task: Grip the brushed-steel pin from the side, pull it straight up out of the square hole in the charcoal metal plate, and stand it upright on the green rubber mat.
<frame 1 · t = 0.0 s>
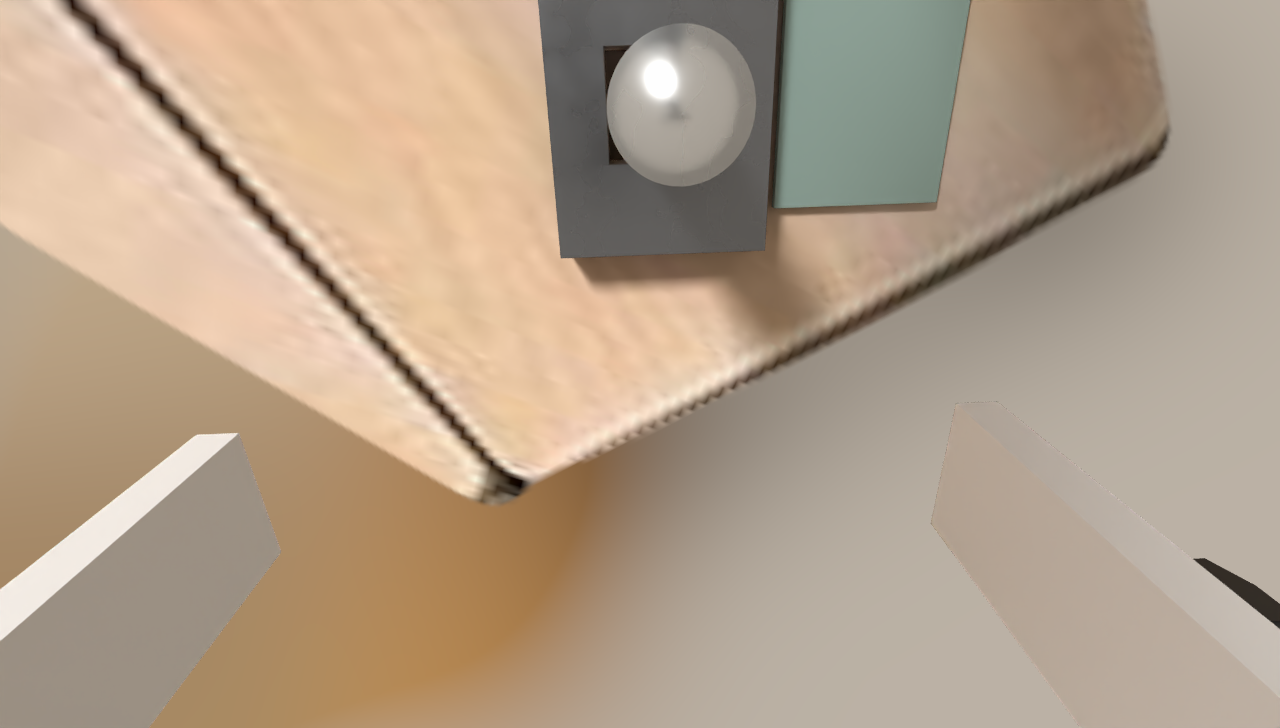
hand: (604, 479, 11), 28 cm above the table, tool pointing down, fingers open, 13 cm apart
rubber mat: (863, 98, 34), on the table
steel pin: (657, 105, 34), resting in socket plate
socket plate: (657, 105, 34), on the table
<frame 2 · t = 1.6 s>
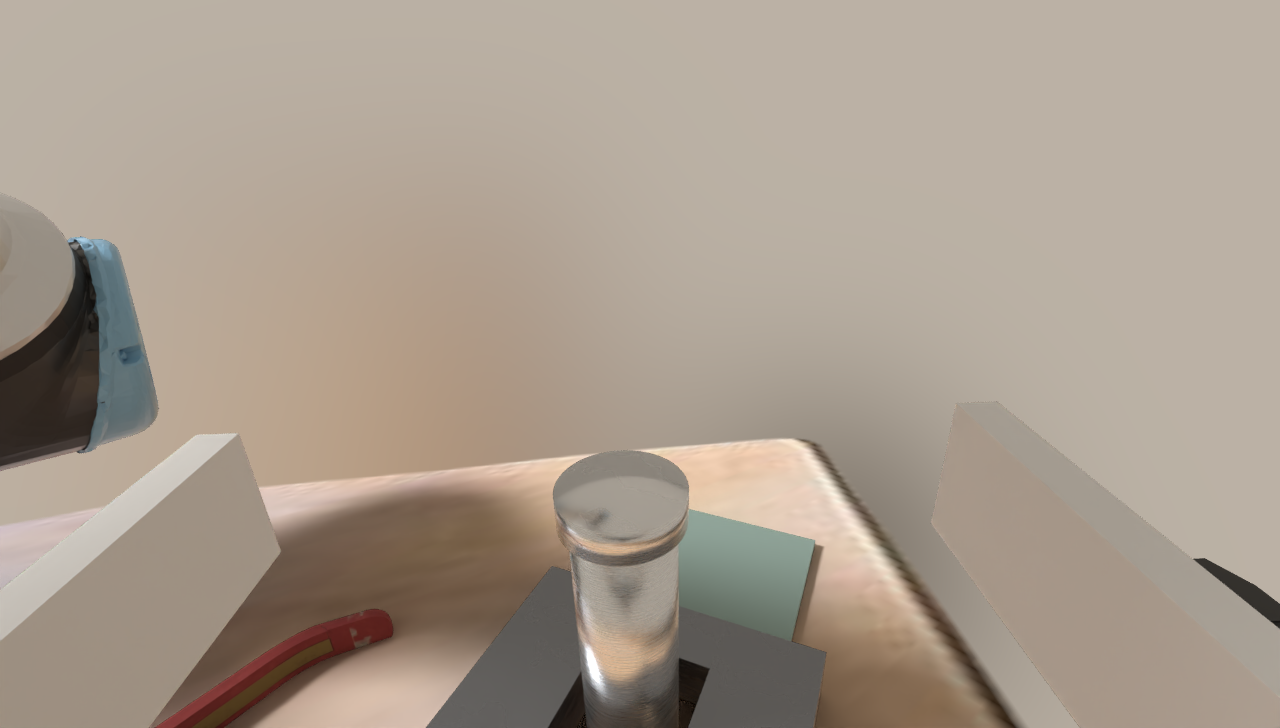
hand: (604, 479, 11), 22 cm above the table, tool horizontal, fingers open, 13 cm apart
rubber mat: (708, 572, 39), on the table
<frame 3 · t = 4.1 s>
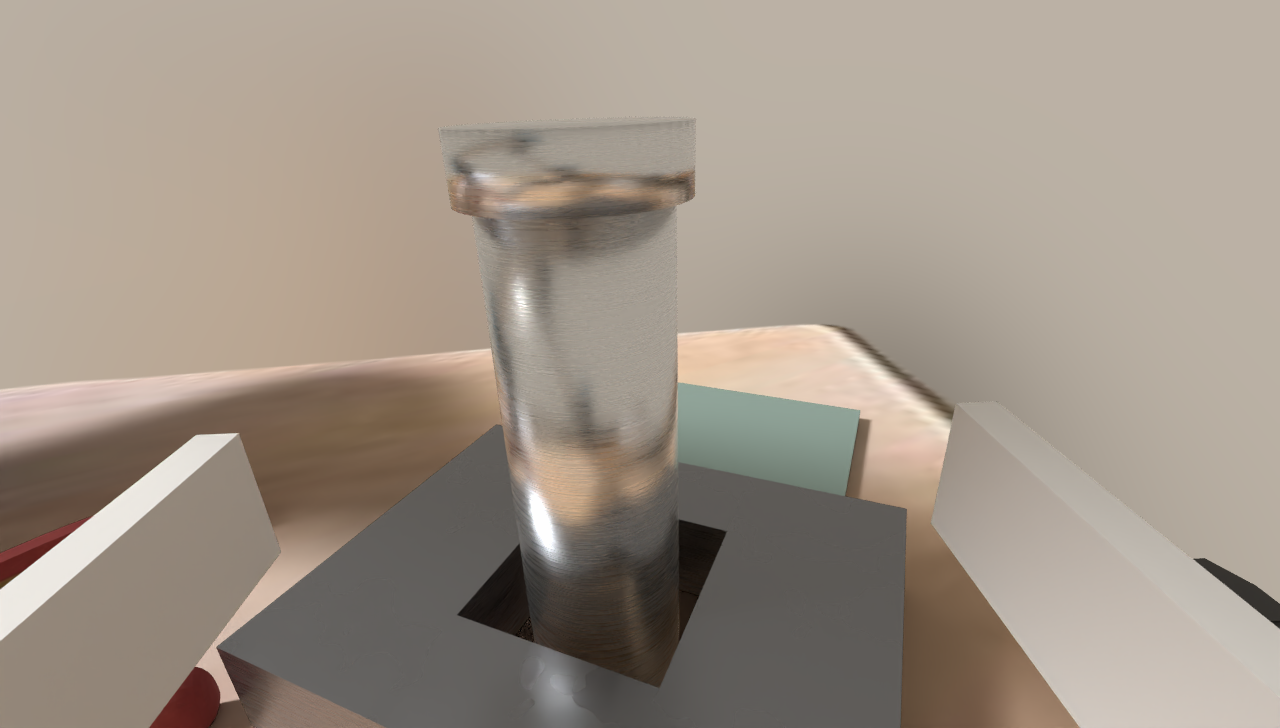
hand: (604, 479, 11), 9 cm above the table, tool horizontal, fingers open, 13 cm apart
rubber mat: (717, 448, 28), on the table
steel pin: (608, 644, 18), resting in socket plate
socket plate: (608, 644, 18), on the table
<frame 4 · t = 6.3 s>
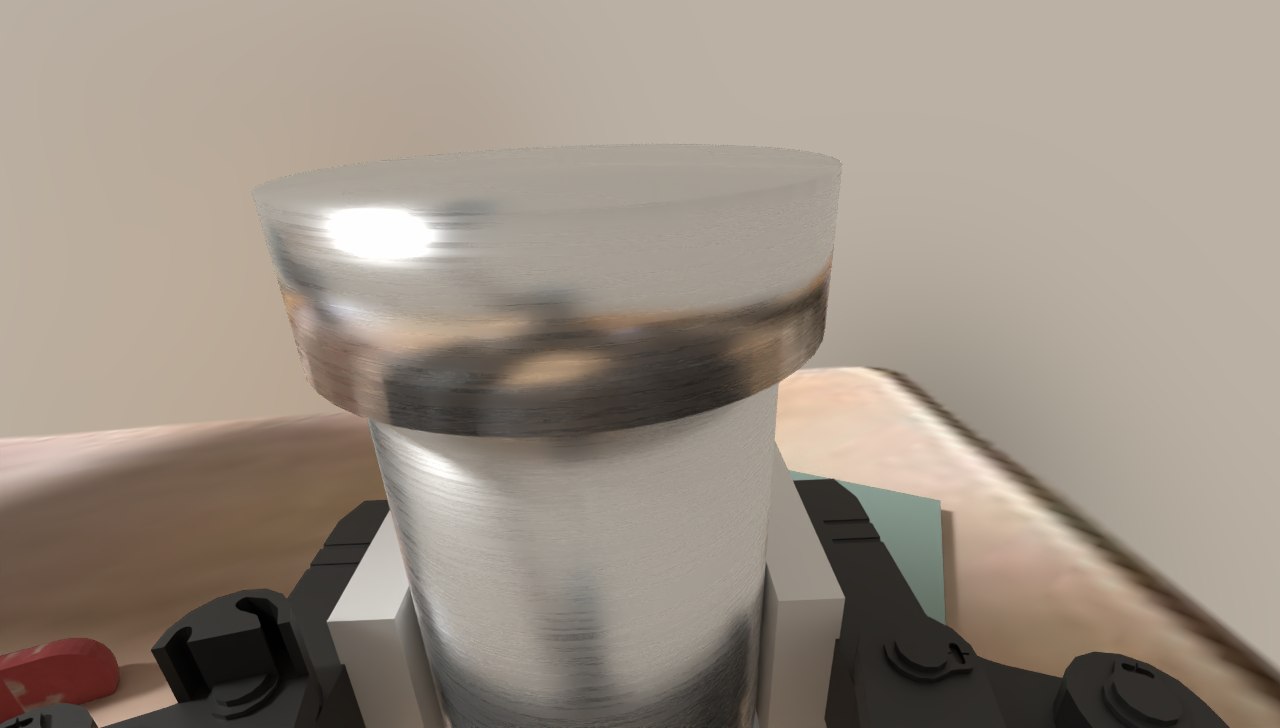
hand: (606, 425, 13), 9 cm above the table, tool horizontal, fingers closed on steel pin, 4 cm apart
rubber mat: (760, 556, 22), on the table
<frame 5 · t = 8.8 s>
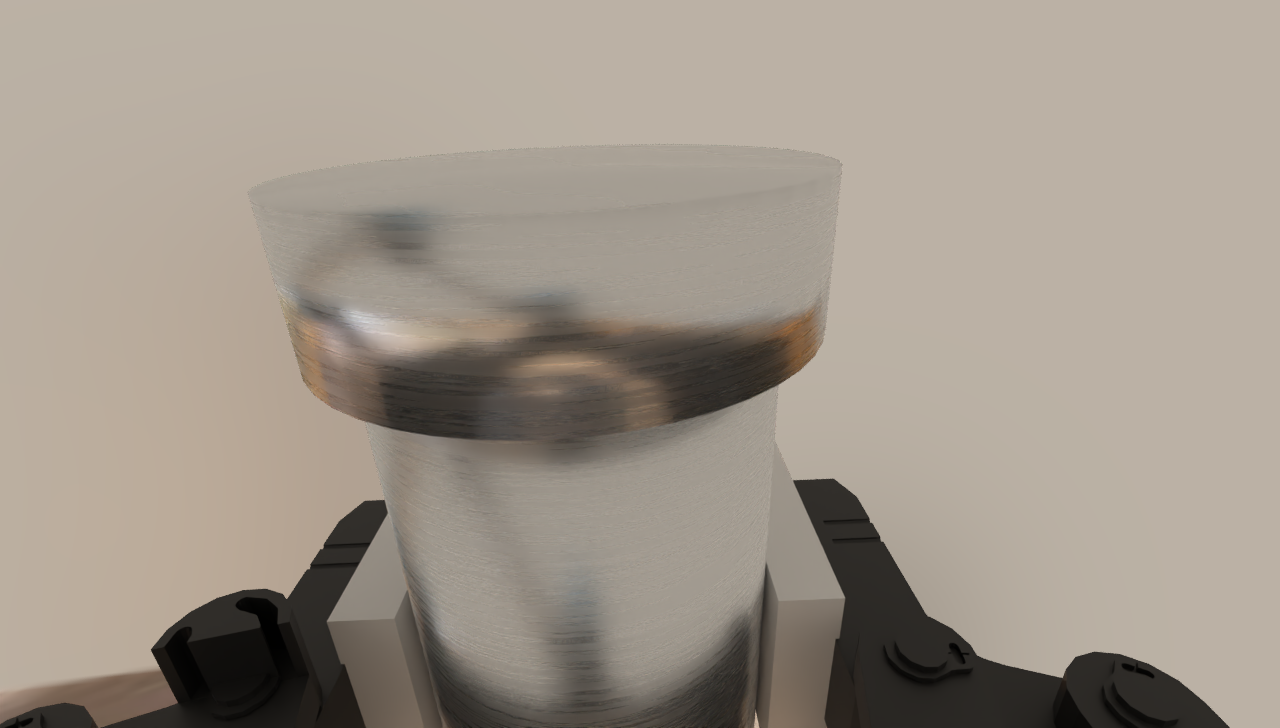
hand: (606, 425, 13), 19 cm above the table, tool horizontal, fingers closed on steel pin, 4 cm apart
when the fingers open (11 cm above the table, at t = 11.2 s): steel pin drops 1 cm, resting on rubber mat.
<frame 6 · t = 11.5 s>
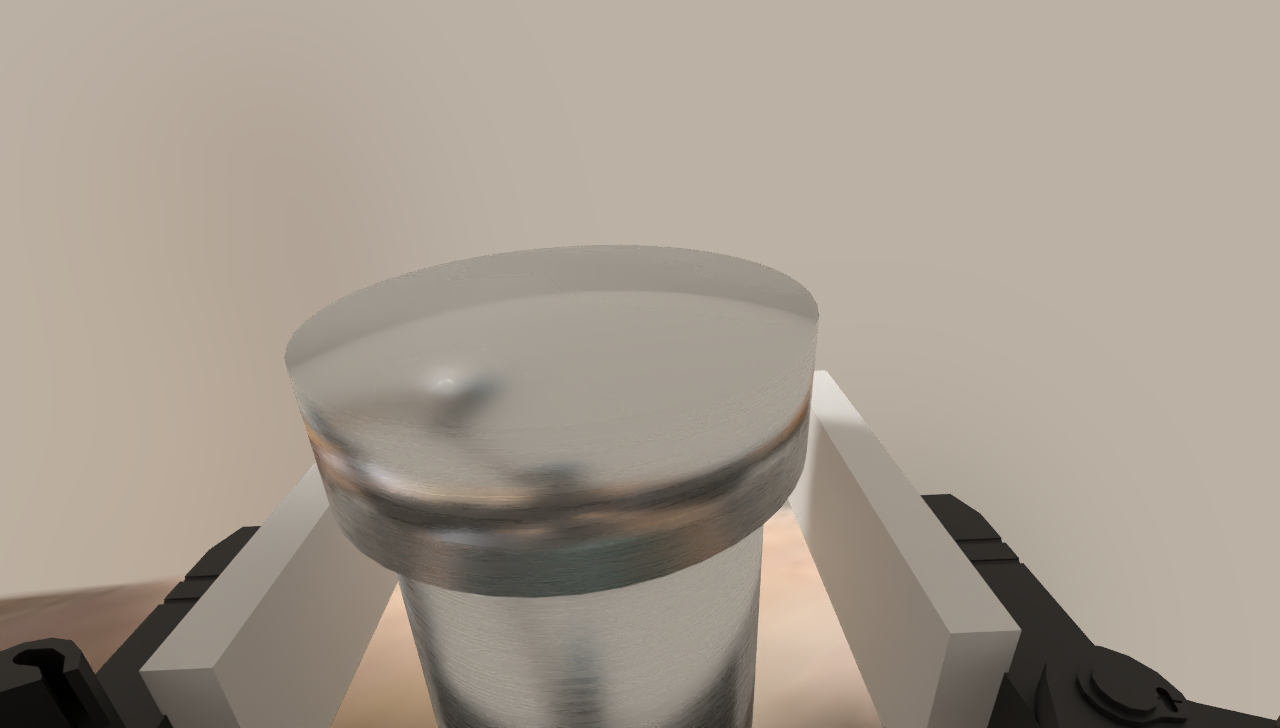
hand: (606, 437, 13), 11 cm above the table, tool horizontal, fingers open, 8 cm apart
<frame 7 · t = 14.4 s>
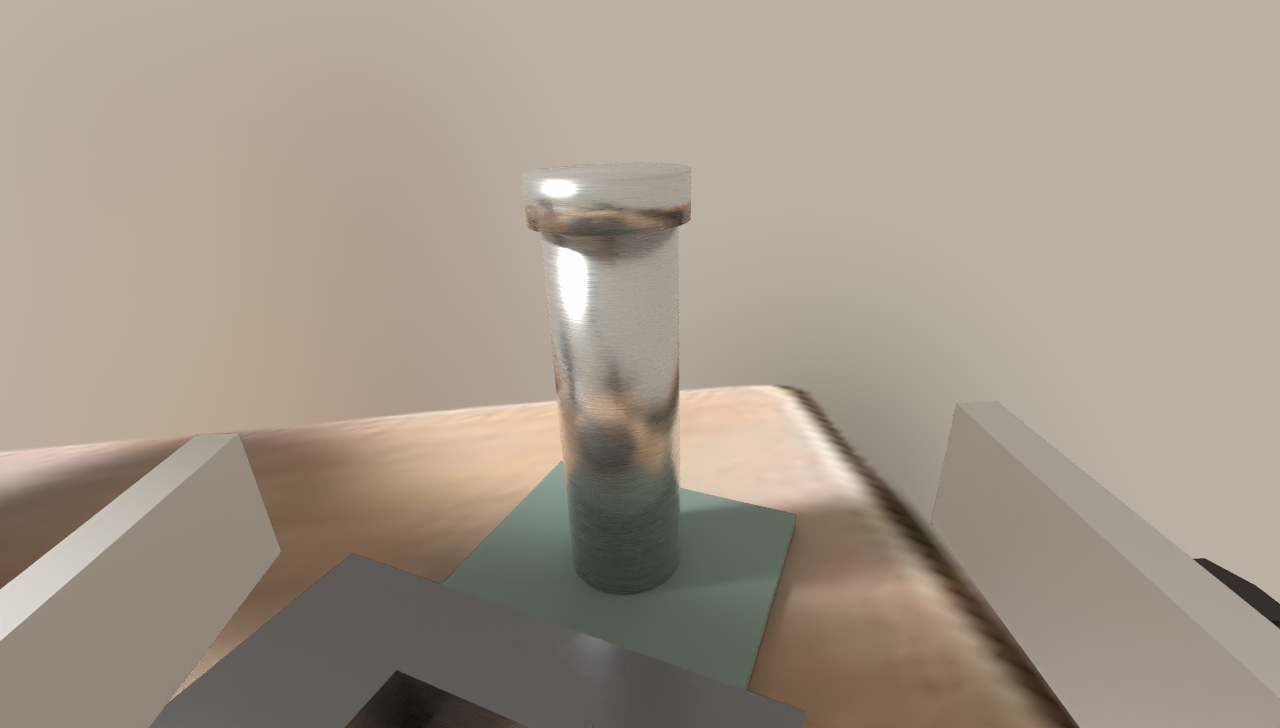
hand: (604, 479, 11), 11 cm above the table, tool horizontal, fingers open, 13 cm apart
rubber mat: (626, 564, 25), on the table
steel pin: (626, 553, 24), point 1 cm above the table, touching rubber mat
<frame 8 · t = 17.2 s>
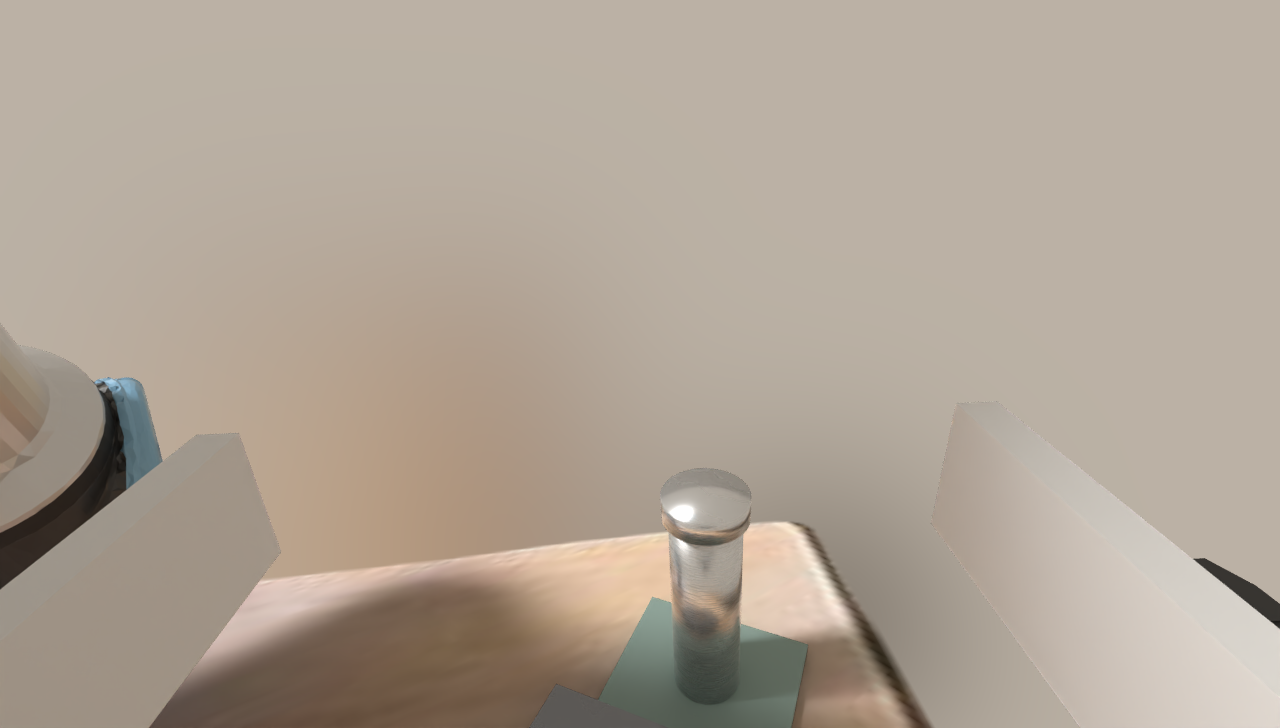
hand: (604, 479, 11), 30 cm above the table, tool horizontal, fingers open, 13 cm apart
rubber mat: (705, 680, 41), on the table
steel pin: (706, 674, 40), point 1 cm above the table, touching rubber mat
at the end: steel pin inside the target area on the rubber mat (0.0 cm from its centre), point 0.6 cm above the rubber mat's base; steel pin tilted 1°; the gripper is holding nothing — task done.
